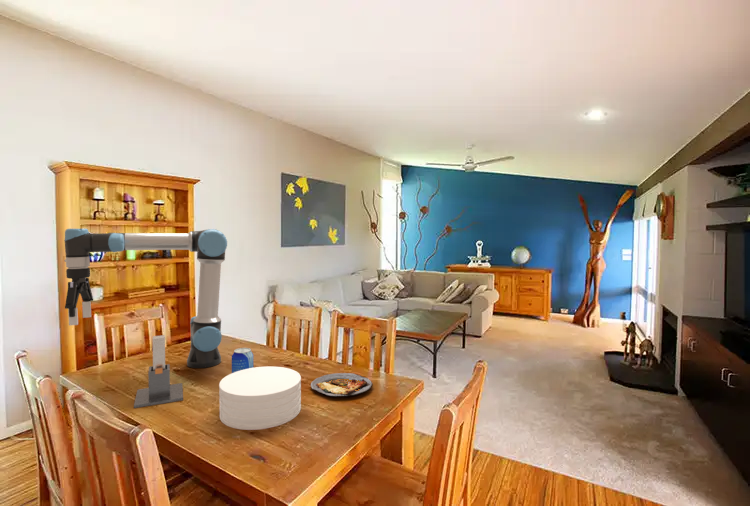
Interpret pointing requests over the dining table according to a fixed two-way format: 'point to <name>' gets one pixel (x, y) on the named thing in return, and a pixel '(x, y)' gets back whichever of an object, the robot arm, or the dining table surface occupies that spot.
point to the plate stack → (260, 397)
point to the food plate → (341, 384)
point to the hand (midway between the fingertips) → (80, 321)
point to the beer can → (242, 359)
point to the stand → (159, 389)
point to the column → (159, 352)
